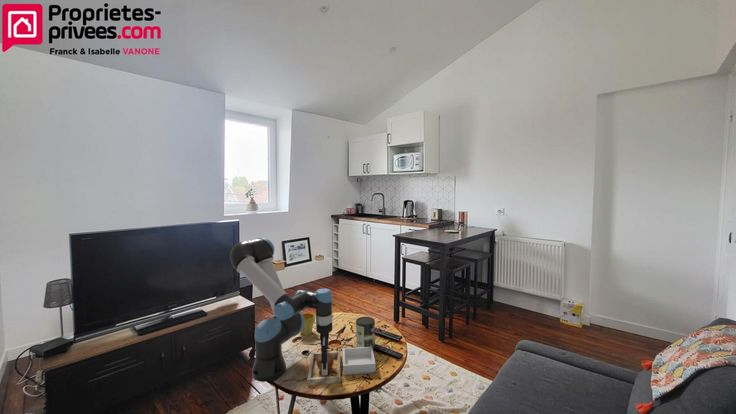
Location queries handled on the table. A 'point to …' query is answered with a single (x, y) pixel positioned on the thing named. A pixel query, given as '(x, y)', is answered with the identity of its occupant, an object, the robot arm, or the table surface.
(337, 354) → the corral
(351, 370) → the bin
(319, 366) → the apple
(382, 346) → the table surface
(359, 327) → the coffee can
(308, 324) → the plant pot
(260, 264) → the robot arm
